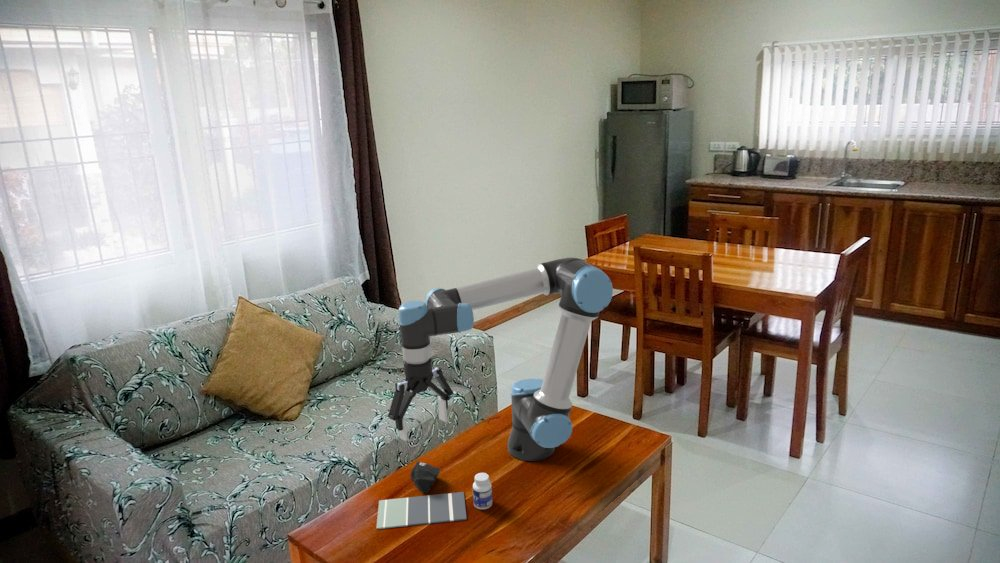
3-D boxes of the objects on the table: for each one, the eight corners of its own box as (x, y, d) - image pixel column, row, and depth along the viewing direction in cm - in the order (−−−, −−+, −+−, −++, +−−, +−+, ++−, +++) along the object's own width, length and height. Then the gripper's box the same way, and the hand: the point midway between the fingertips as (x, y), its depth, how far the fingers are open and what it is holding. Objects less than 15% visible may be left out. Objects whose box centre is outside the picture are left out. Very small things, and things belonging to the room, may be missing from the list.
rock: (400, 489, 187) (399, 472, 185) (414, 472, 194) (413, 456, 193) (432, 496, 183) (431, 478, 181) (445, 478, 191) (444, 462, 189)
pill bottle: (471, 500, 180) (469, 473, 177) (488, 496, 182) (487, 469, 179) (477, 512, 175) (475, 483, 173) (495, 507, 177) (493, 479, 174)
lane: (463, 493, 184) (463, 491, 184) (466, 519, 172) (466, 518, 172) (379, 501, 181) (379, 500, 181) (376, 529, 170) (376, 528, 170)
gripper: (445, 341, 181) (450, 408, 187) (369, 370, 165) (378, 442, 171) (462, 348, 176) (467, 417, 182) (385, 378, 160) (394, 452, 166)
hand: (424, 429), depth 177 cm, fingers open, 13 cm apart
